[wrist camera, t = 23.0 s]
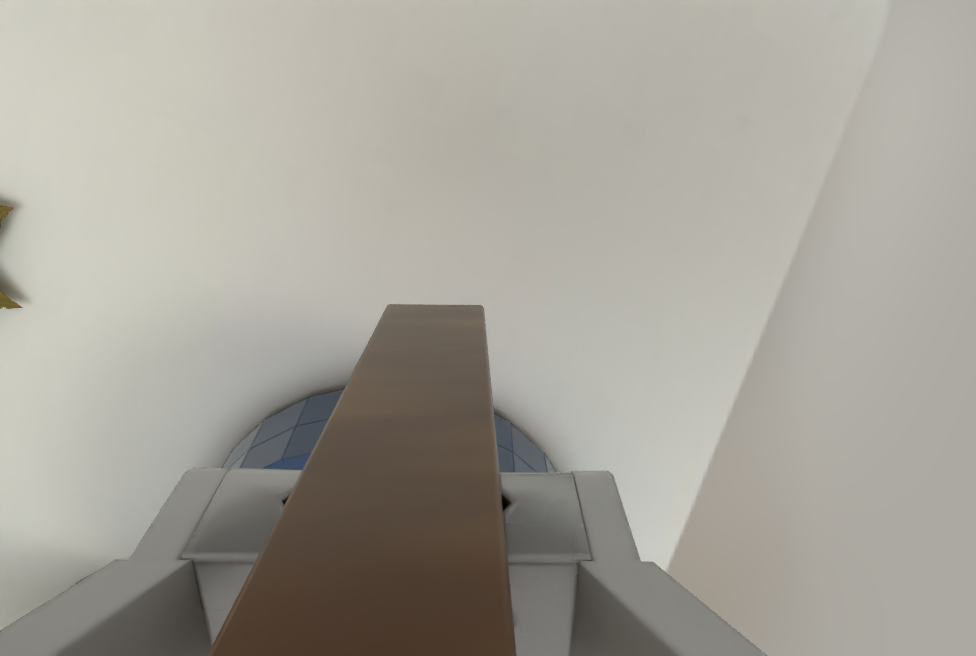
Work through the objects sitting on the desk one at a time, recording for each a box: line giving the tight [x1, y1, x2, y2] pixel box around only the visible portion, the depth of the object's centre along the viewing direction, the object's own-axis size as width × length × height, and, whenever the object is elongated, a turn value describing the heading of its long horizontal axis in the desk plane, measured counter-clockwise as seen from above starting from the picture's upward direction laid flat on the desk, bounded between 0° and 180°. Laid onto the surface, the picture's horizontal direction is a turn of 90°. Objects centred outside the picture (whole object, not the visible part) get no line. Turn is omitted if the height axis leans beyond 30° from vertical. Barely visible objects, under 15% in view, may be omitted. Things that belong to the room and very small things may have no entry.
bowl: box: [222, 390, 556, 473], centre depth 33 cm, size 19×19×6 cm
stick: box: [207, 304, 517, 656], centre depth 10 cm, size 2×2×14 cm
